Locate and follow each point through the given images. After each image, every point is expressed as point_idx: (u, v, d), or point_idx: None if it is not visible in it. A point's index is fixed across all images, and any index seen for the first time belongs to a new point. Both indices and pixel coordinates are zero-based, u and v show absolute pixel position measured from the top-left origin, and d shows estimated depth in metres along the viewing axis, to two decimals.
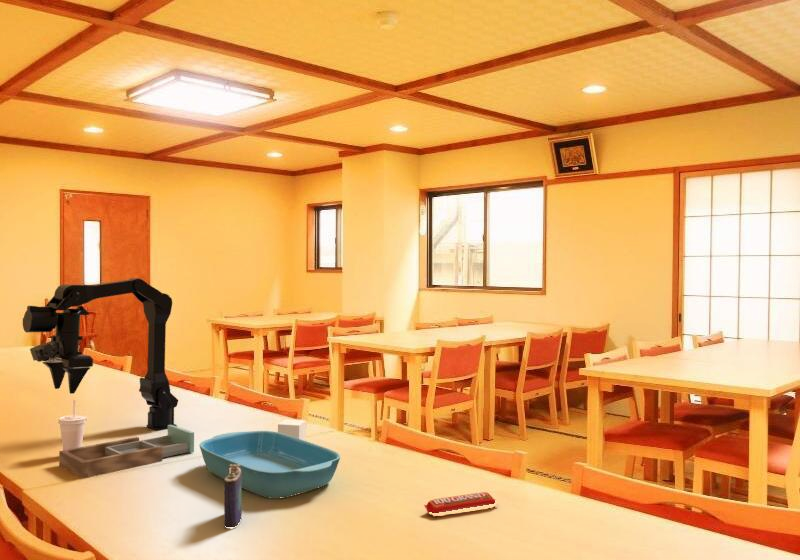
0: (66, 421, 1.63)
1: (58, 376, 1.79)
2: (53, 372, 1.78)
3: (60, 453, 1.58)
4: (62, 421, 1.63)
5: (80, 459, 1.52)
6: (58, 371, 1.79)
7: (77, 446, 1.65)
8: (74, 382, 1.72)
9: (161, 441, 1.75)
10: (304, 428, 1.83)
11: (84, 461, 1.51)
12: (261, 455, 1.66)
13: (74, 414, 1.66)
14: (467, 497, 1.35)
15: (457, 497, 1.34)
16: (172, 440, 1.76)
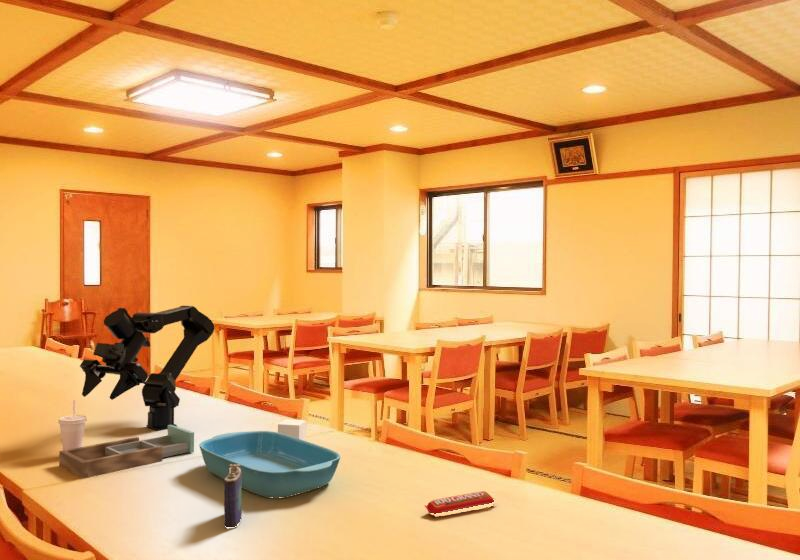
0: (66, 421, 1.63)
1: (90, 386, 1.78)
2: (89, 379, 1.77)
3: (60, 453, 1.58)
4: (62, 421, 1.63)
5: (80, 459, 1.52)
6: (92, 381, 1.78)
7: (77, 446, 1.65)
8: (119, 389, 1.74)
9: (161, 441, 1.75)
10: (304, 428, 1.83)
11: (84, 461, 1.51)
12: (261, 455, 1.66)
13: (74, 414, 1.66)
14: (466, 496, 1.35)
15: (457, 497, 1.34)
16: (172, 440, 1.76)
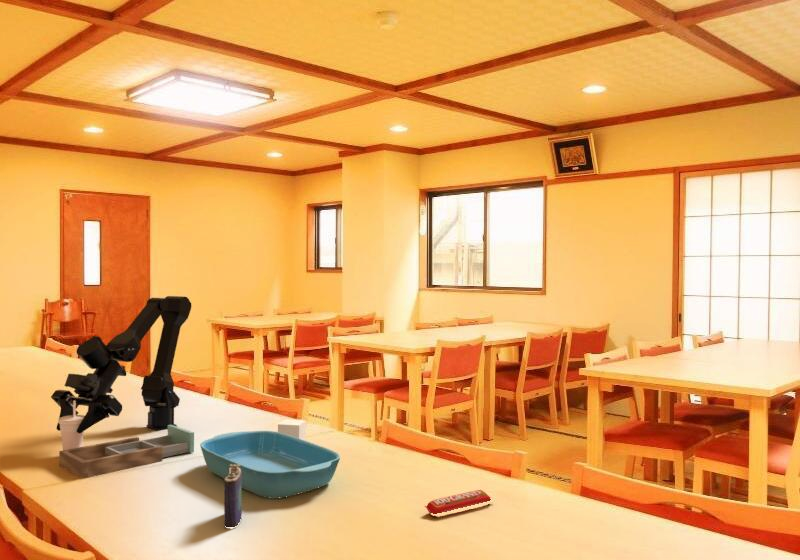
0: (66, 421, 1.63)
1: None
2: (65, 412, 1.68)
3: (60, 453, 1.58)
4: (62, 421, 1.63)
5: (80, 459, 1.52)
6: (68, 414, 1.69)
7: (77, 446, 1.65)
8: (87, 422, 1.65)
9: (161, 441, 1.75)
10: (304, 428, 1.83)
11: (84, 461, 1.51)
12: (262, 455, 1.66)
13: (74, 414, 1.66)
14: (464, 495, 1.35)
15: (455, 496, 1.34)
16: (172, 440, 1.76)
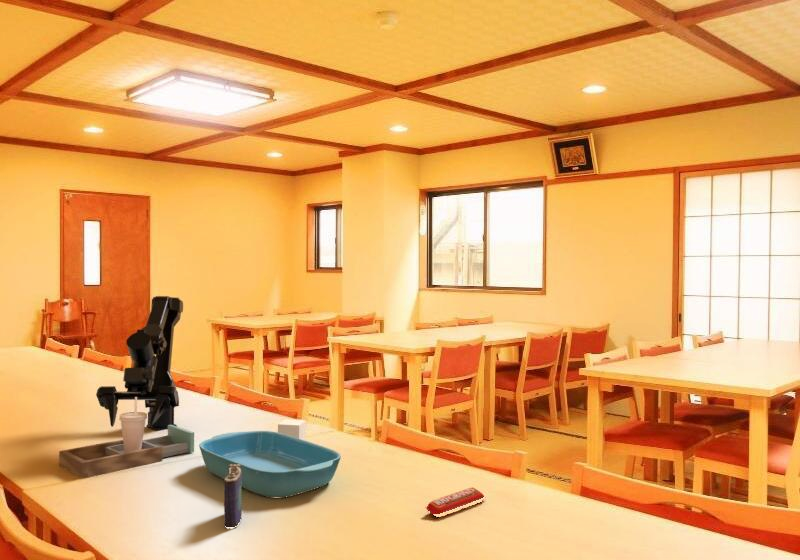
0: (134, 418, 1.62)
1: (114, 414, 1.65)
2: (113, 407, 1.65)
3: (60, 453, 1.58)
4: (129, 418, 1.62)
5: (80, 459, 1.52)
6: (115, 410, 1.66)
7: (141, 442, 1.65)
8: (156, 414, 1.66)
9: (161, 441, 1.75)
10: (304, 428, 1.83)
11: (84, 461, 1.51)
12: (260, 455, 1.66)
13: (136, 411, 1.65)
14: (460, 494, 1.36)
15: (452, 495, 1.35)
16: (172, 440, 1.76)
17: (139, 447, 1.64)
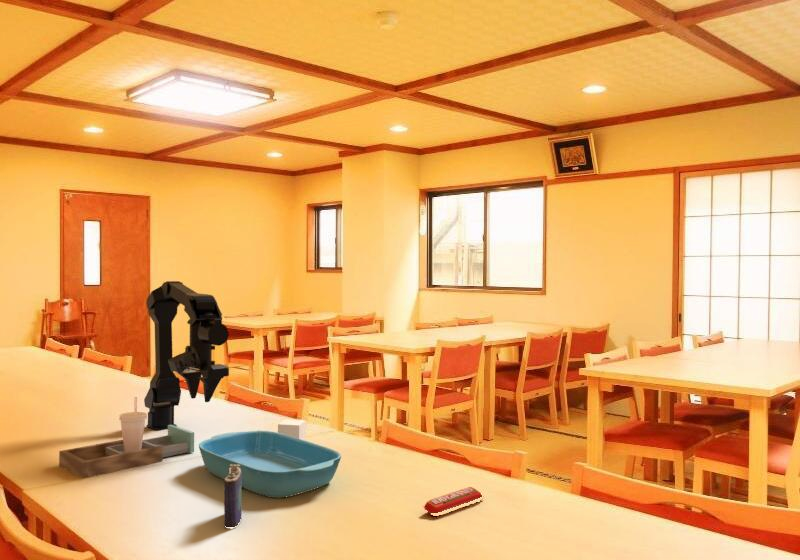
0: (134, 418, 1.62)
1: (194, 386, 1.81)
2: (189, 382, 1.80)
3: (60, 453, 1.58)
4: (129, 418, 1.62)
5: (80, 459, 1.52)
6: (193, 381, 1.81)
7: (141, 442, 1.65)
8: (209, 391, 1.75)
9: (161, 441, 1.75)
10: (304, 428, 1.83)
11: (84, 461, 1.51)
12: (259, 455, 1.66)
13: (136, 411, 1.65)
14: (458, 493, 1.36)
15: (450, 495, 1.35)
16: (172, 440, 1.76)
17: (139, 447, 1.64)
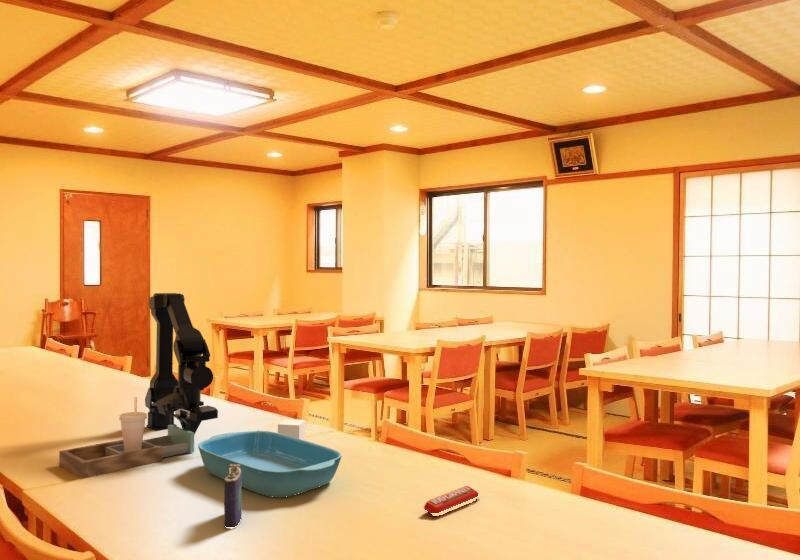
0: (134, 418, 1.62)
1: None
2: (184, 425, 1.76)
3: (60, 453, 1.58)
4: (129, 418, 1.62)
5: (80, 459, 1.52)
6: None
7: (141, 442, 1.65)
8: (191, 431, 1.75)
9: (161, 441, 1.75)
10: (304, 428, 1.83)
11: (84, 461, 1.51)
12: (258, 455, 1.66)
13: (135, 411, 1.65)
14: (456, 493, 1.37)
15: (448, 494, 1.36)
16: (172, 440, 1.76)
17: (139, 447, 1.64)
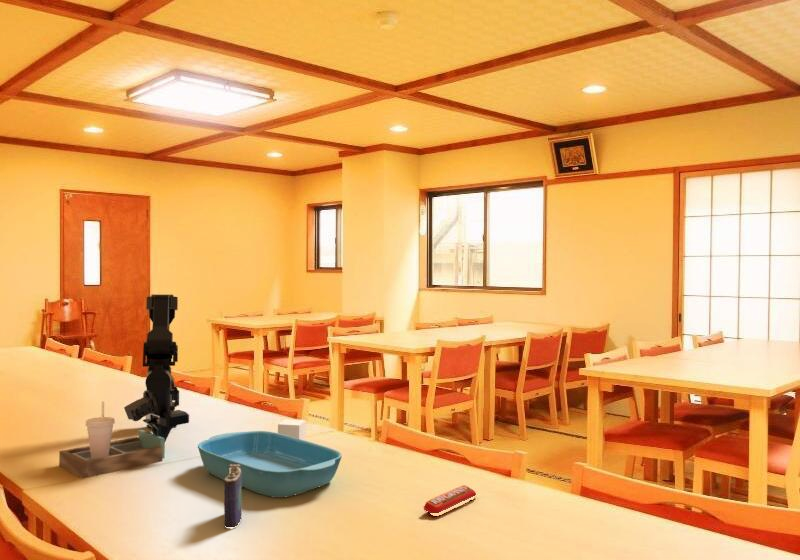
0: (101, 423, 1.56)
1: None
2: (155, 430, 1.70)
3: (60, 453, 1.58)
4: (96, 424, 1.56)
5: (80, 459, 1.52)
6: None
7: (108, 448, 1.59)
8: (162, 436, 1.69)
9: (131, 447, 1.69)
10: (304, 428, 1.83)
11: (84, 461, 1.51)
12: (257, 455, 1.66)
13: (103, 416, 1.59)
14: (454, 492, 1.37)
15: (447, 494, 1.36)
16: (143, 446, 1.70)
17: (106, 454, 1.58)
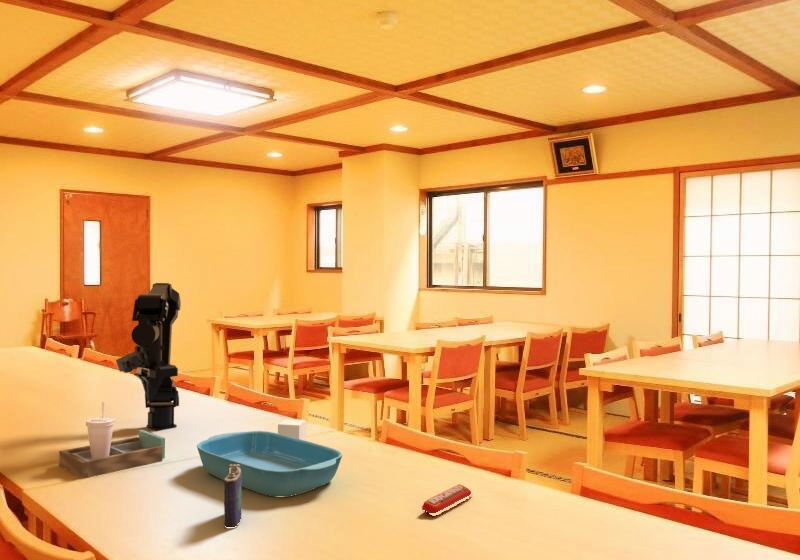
0: (101, 423, 1.56)
1: None
2: (145, 384, 1.77)
3: (60, 453, 1.58)
4: (96, 424, 1.56)
5: (80, 459, 1.52)
6: None
7: (109, 448, 1.59)
8: (152, 389, 1.77)
9: (131, 447, 1.69)
10: (304, 428, 1.83)
11: (84, 461, 1.51)
12: (256, 455, 1.66)
13: (103, 416, 1.59)
14: (451, 492, 1.37)
15: (444, 493, 1.36)
16: (143, 446, 1.70)
17: (106, 453, 1.58)
